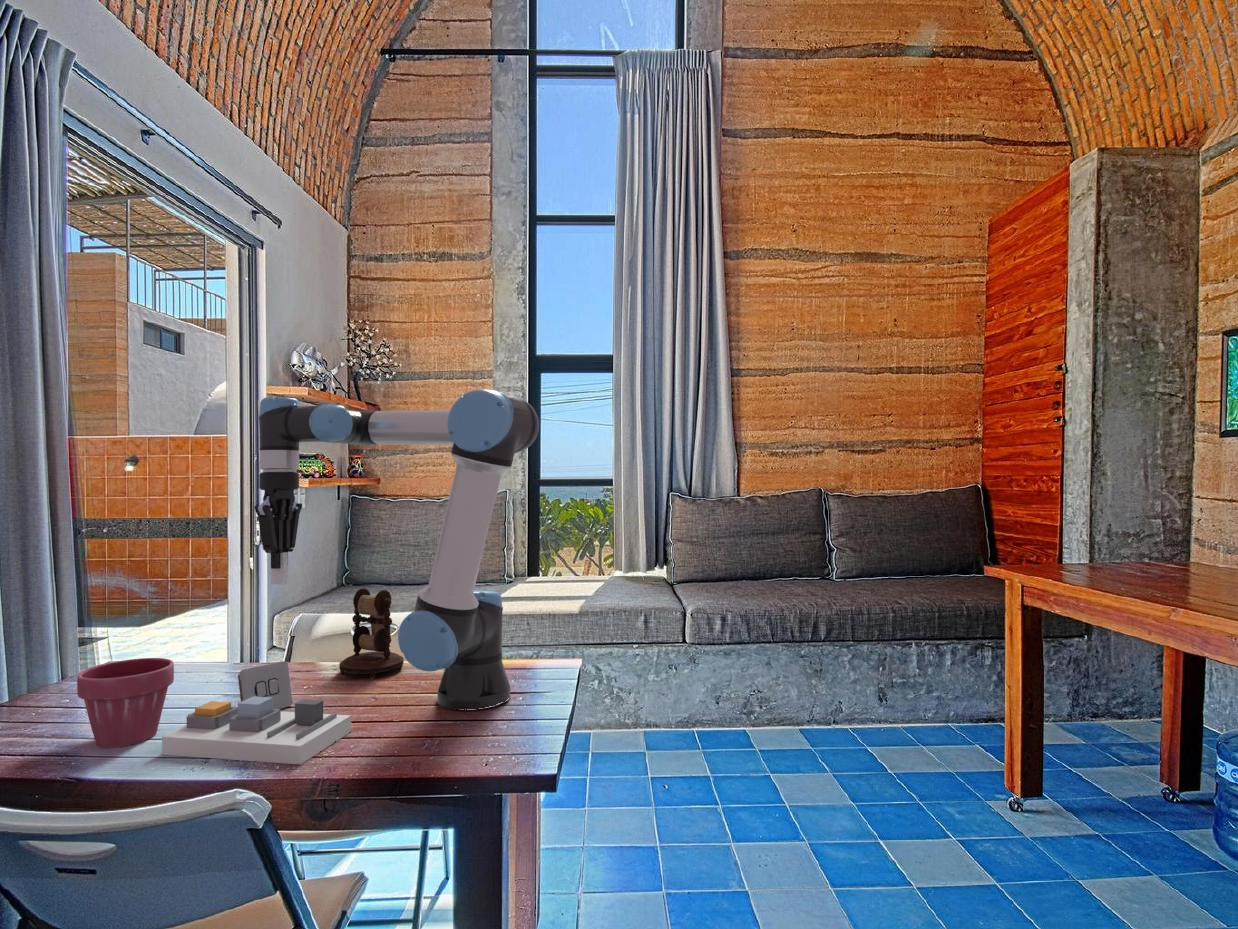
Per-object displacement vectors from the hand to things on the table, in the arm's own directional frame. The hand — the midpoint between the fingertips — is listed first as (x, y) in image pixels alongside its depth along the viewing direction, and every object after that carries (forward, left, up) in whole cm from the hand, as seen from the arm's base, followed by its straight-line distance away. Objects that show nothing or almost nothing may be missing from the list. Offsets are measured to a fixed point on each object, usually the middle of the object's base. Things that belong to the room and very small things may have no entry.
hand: (279, 583), depth 145 cm
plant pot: (+15, +22, -25) cm, 36 cm away
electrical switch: (+1, +4, -25) cm, 26 cm away
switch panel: (-11, +20, -25) cm, 34 cm away
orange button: (-1, +20, -21) cm, 29 cm away
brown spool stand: (-6, -26, -25) cm, 37 cm away
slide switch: (-19, +18, -22) cm, 34 cm away
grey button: (-10, +20, -20) cm, 30 cm away
